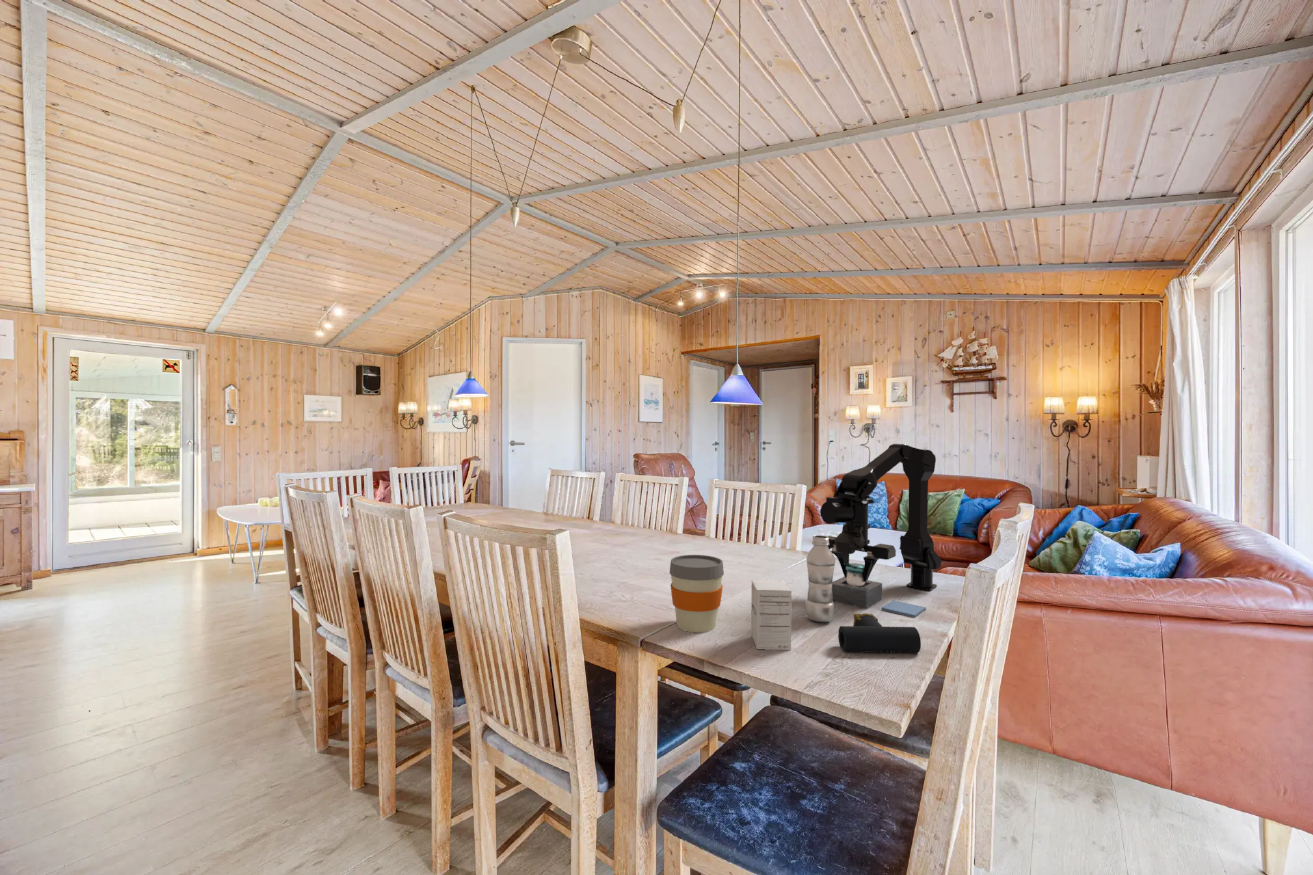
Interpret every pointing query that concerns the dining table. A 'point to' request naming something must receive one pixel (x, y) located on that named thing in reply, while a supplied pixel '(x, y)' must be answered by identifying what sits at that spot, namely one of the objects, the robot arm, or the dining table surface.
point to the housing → (857, 593)
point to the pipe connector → (877, 637)
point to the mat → (903, 608)
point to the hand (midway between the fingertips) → (855, 579)
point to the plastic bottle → (820, 581)
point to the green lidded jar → (855, 574)
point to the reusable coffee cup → (696, 591)
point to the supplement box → (771, 615)
